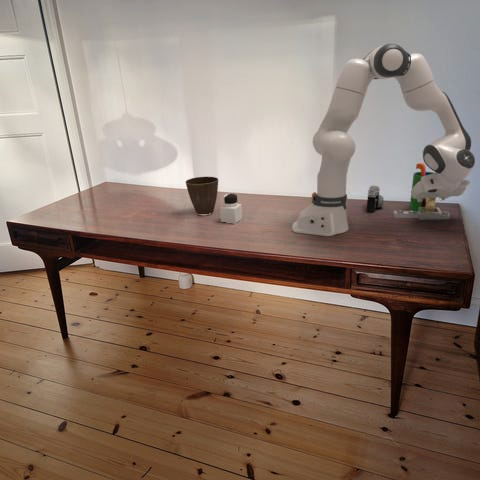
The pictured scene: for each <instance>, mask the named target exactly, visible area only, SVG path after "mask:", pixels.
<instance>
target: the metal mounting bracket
mask: <svg viewBox="0 0 480 480" xmlns="http://www.w3.org/2000/svg"><path fill="white" fill-rule="evenodd" d="M425 208H426V207H419V208H418V212H416V211H414V210H411V209H409V210H408V211H407V210H403V209H397V210H393V218H394V219H395V218H397V219H398V218H399V219H400V218H401V219H402V218H403V219H405V218H406V219H419V221H433V222H434V221H435V222H436V221H437V222H438V221H439V222H441V221H442V220H450V218H451V214H450V213H449V211H448V210H441V209H440V207H438V206H437V207H436V206H435V210H434V212H425Z"/></svg>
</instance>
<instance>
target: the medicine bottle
mask: <svg viewBox="0 0 480 480" xmlns="http://www.w3.org/2000/svg"><path fill="white" fill-rule="evenodd" d="M222 200H223V201H222V202H223V205H222V206H220V207H219V209H220V210H219V213H220V222H221V221H224V222H231V223H236V222H238V221H239V220H240V219H242V220H243V211H242V210H243V208H242V203H238V195H237V194H235V193H226V194H224V195H223V196H222ZM240 221H241V220H240ZM240 221H239V222H240ZM239 222H238V223H239ZM236 224H237V223H236Z"/></svg>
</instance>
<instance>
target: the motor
mask: <svg viewBox="0 0 480 480" xmlns="http://www.w3.org/2000/svg"><path fill="white" fill-rule="evenodd" d="M415 169H418V170H420V171H417V172H414V173H413V175H412V183H411V184H412V185H411V190H412V189H413V187H414V186H415V185H416V184H417V183H418V182H419V181H421V177H423V176H426V175H430V174H433V173H434V171H433V172H432V171H426V170H427V169H426V164H425V163H422V162H421V163H416V165H415ZM422 199H423V201H422V202H418V201H417V199H414V198H413V197H412V194H411V193H410V202H409V210H414V211H415V212H418V208H419V207H426V198H422Z"/></svg>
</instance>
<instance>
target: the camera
mask: <svg viewBox="0 0 480 480" xmlns="http://www.w3.org/2000/svg"><path fill="white" fill-rule="evenodd" d="M384 199H385V198H384V196H382V195H381V194H380V187H379V186H378V185H370V186H369V188H368V190H367V201H366V202H367V203H366V213H368V214H375V212H376V209H379V208H381V207H383V206H384Z"/></svg>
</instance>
